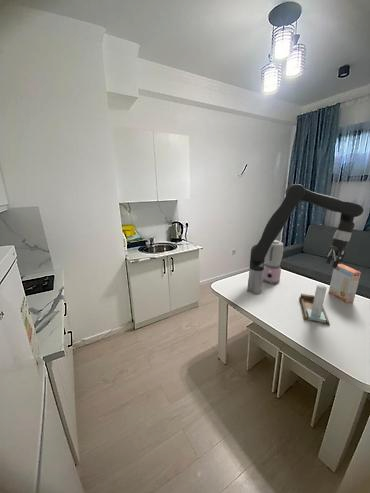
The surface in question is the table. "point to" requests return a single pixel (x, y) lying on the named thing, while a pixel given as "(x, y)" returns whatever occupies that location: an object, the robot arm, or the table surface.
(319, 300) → the keeper
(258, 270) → the robot arm
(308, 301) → the rail board
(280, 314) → the table surface
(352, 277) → the cracker box
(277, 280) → the blender
